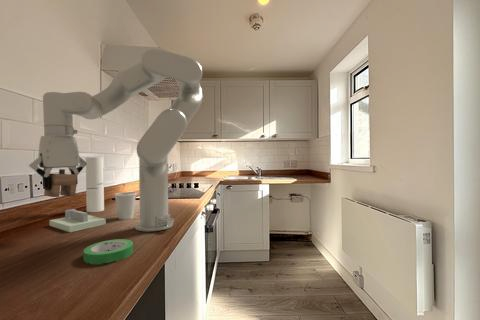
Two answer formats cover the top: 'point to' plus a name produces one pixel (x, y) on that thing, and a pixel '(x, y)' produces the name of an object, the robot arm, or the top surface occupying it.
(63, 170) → the walnut block
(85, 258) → the tape roll
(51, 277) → the top surface
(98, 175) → the cylindrical container
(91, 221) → the cleat board
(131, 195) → the dixie cup
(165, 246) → the top surface
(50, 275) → the top surface
